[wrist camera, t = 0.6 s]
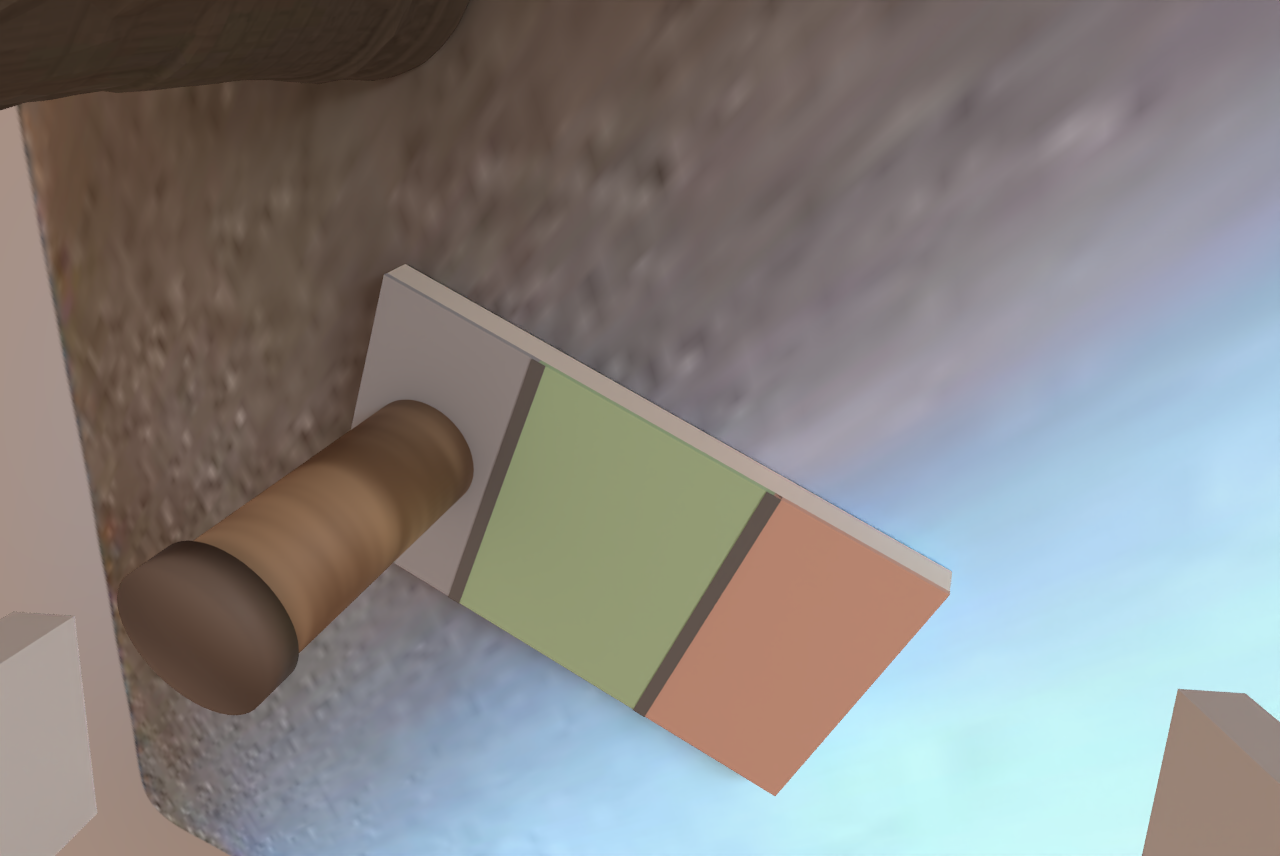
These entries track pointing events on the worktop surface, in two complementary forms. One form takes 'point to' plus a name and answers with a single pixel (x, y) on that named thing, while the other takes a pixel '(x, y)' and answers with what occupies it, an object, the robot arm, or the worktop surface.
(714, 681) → the gauge board
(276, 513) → the wooden dark-capped post
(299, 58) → the beer stein
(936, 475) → the worktop surface
